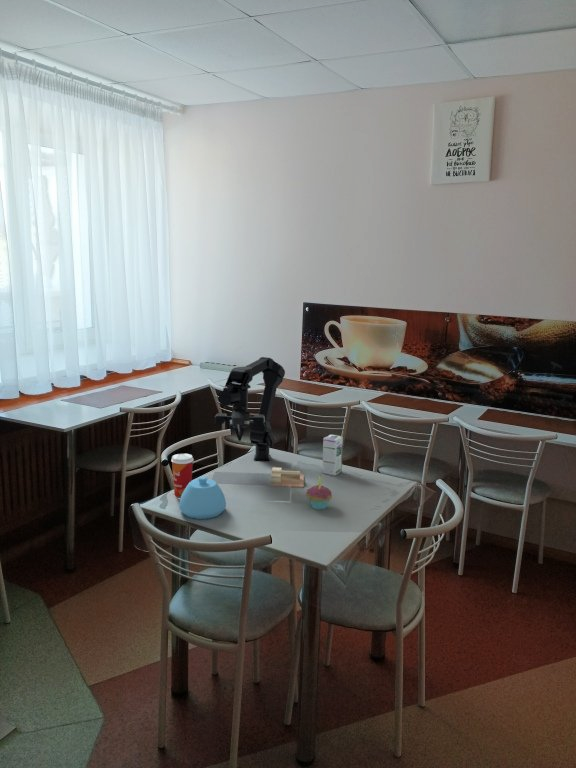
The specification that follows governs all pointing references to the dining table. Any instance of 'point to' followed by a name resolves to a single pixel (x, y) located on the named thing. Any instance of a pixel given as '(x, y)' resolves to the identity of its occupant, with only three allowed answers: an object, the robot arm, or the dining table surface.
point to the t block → (284, 476)
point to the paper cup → (181, 472)
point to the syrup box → (332, 454)
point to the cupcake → (319, 496)
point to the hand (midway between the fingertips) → (239, 440)
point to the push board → (251, 479)
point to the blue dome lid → (202, 499)
